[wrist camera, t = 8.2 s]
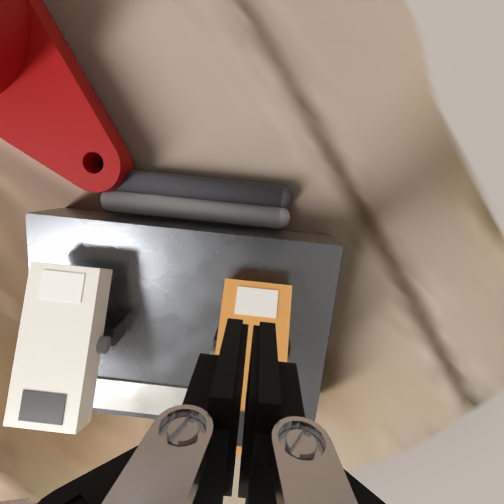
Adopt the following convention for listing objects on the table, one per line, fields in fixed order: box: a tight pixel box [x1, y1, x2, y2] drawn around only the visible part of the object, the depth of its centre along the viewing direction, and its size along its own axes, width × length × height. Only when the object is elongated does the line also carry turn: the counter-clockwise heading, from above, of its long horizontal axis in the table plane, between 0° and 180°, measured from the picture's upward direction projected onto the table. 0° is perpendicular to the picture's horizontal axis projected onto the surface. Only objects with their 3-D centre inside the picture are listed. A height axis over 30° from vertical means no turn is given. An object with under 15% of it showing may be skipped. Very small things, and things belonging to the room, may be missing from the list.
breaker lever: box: [210, 278, 292, 455], centre depth 18 cm, size 9×5×2 cm
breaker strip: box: [25, 208, 344, 422], centre depth 22 cm, size 14×20×6 cm
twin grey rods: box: [100, 169, 293, 229], centre depth 22 cm, size 3×14×2 cm, turn 85°
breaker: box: [3, 261, 113, 434], centre depth 19 cm, size 9×5×2 cm, turn 175°
